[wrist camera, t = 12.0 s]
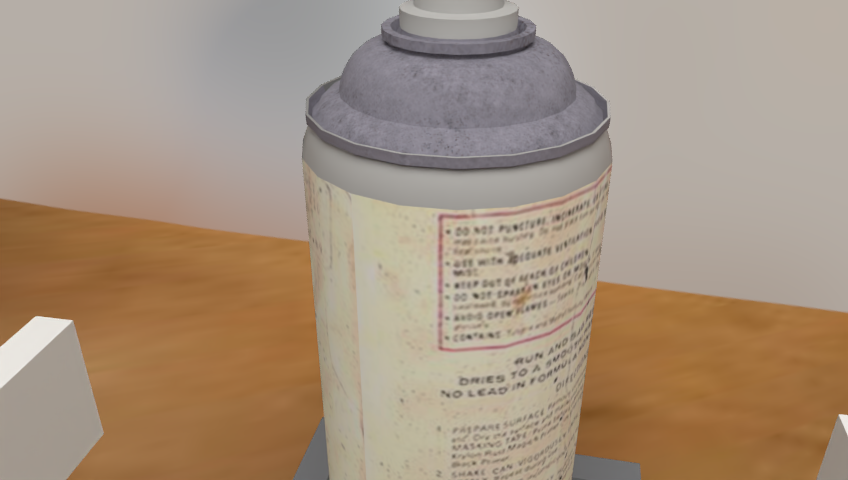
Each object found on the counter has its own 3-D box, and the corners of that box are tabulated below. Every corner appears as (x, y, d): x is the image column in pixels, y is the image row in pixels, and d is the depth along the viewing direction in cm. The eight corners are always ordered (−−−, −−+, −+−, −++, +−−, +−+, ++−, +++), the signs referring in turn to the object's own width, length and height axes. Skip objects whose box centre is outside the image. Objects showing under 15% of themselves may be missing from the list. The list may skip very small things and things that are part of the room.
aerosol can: (467, 491, 29) (488, -78, 19) (599, 631, 24) (718, -45, 14) (304, 580, 25) (228, -58, 16) (417, 765, 20) (408, -5, 11)
